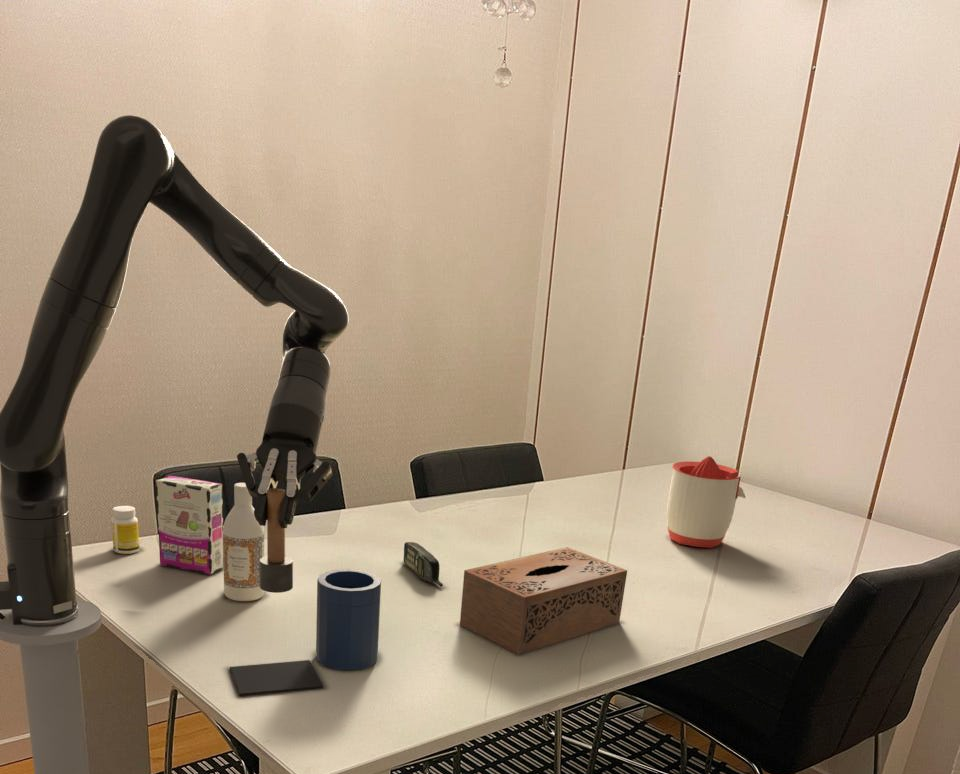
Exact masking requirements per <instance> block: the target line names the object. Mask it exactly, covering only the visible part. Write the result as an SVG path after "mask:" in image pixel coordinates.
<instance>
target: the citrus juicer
mask: <svg viewBox="0 0 960 774" xmlns="http://www.w3.org/2000/svg"><path fill="white" fill-rule="evenodd" d="M740 483H741V476H739V470H737V469H735V468H732V467H729V466H726V465H722V464H719V463H718V464H717V462H716V461H715V459H714V458H713V457H712V456H706V457H705V458H703V459H702V460H701V461H677V462H675V463H673V464H672V474H671V480H670V486H669V492H668V497H667V498H668V499H667V506H666V522H667V523H666V524H667V532H668V534H669V538H670V539H671V540H672V541H674V542H676V544H678V545H686V546H690V547H695V548H696V547H697V548H706V549H713V548H714V547H717V546H719V545H720V544H721V542H723V540H724V538H725V536H726V534H727V532H728V530H729V528H730V525H731V523H732V520H733V516H734V512H735V508H736V502H737V499H738V498H742V499H746V498H747V497H746V494H745V492H744V489H743V488H742V487H741V486H740Z"/></svg>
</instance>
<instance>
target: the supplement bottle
mask: <svg viewBox="0 0 960 774" xmlns="http://www.w3.org/2000/svg"><path fill="white" fill-rule="evenodd" d="M112 516H113V517H112V518H111V533H112V534H111V535H112V545H113V551H114V552H115V553H117V554H121V555H130V554H134V553H137V552H139V551H140V536H139V535H140V534H139V533H140V532H139V521H138V520H139V519H138V518H137V517H136V508H135V507H134V506H131V505H117V506H114V507H112Z"/></svg>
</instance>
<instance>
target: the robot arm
mask: <svg viewBox="0 0 960 774" xmlns="http://www.w3.org/2000/svg"><path fill="white" fill-rule="evenodd" d="M171 145H172V144H171V143H170V142H169V140H168V138H167V137H166V136H165V134H164V133H163V132H162V131H161V130H160V129H159V128H158V127H157V126H156V125H155V124H154V123H152V122H151V121H149V120H148V119H146V118H144V117H141V116H138V115H132V114H129V115H128V114H127V115H121V116H118V117H116V118H114V119H112V120H111V121H110V122H109V123H107V124H106V125H105V127H104V128H103V130H102V131H101V133H100V135H99V137H98V140H97V144H96V148H95V152H94V156H93V161H92V164H91V169H90V172H89V176H88V180H87V183H86V188H85V191H84V195H83V199H82V202H81V205H80V207H79V210H78V212H77V214H76V217H75V219H74V221H73V223H72V225H71V226H70V228H69V231H68V233H67V235H66V238H65V239H64V241H63V244H62V245H61V248H60V251H59V253H58V255H57V258H56V260H55V262H54V264H53V267H52V269H51V271H50V274H49V277H48V279H47V281H46V284H45V286H44V290H43V292H42V294H41V298H40V301H39V303H38V306H37V307H38V308H37V310H36V313H35V317H34V321H33V322H32V323H33V324H32V327H31V331H30V333H29V338H28V342H27V346H26V350H25V355H24V359H23V362H22V366H21V369H20V371H19V374H18V377H17V379H16V381H15V383H14V385H13V387H12V389H11V391H10V393H9V395H8V397H7V399H6V401H5V402H4V405H3V407H2V409H1V410H0V508H1V509H0V510H1V516H2V525H3V533H4V534H3V535H4V543H5V551H6V560H7V563H6V564H7V565H6V571H7V573H6V574H7V581H0V610H7V609H12V616H13V624H14V625H26V626H33V627H48V626H56V625H61V624H64V623H67V622H70V621H72V620H74V619H75V618H76V617H77V616H78V606H77V600H76V599H77V591H76V589H77V588H76V579H75V569H74V567H75V566H74V555H73V547H72V534H71V522H70V511H69V479H68V464H67V451H66V438H65V430H64V426H65V424H66V419H67V416H68V413H69V409H70V406H71V403H72V400H73V397H74V395H75V393H76V391H77V388H78V386H79V384H80V383H81V381H82V379H83V378H84V376H85V374H86V372H87V371H88V369H89V367H90V366H91V364H92V363H93V360H94V359H95V357H96V355H97V353H98V351H99V348H100V347H101V345H102V343H103V341H104V339H105V337H106V335H107V332H108V330H109V328H110V326H111V324H112V321H113V319H114V316H115V313H116V311H117V308H118V305H119V302H120V299H121V296H122V293H123V290H124V285H125V280H126V276H127V272H128V265H129V261H130V253H131V248H132V244H133V240H134V238H135V235H136V232H137V229H138V227H139V225H140V222H141V220H142V218H143V217H144V214H145V212H146V210H147V208H148V206H149V204H151V205H153V206H155V207H156V208H157V209H159V210H160V211H162V212H163V213H165V215H167V216H168V217H169V218H171V219H172V220H173V221H175V222H176V223H177V225H179V226H180V227H182V229H184V230H185V231H186V232H187V233H188V234H189V235H190V236H191V238H193V239H194V240H195V242H196V243H197V244H198V245H199V246H200V247H201V248H202V249H203V250H204V251H205V252H206V254H207V255H209V257H210V258H211V259H212V260H213V261H214V262H215V264H217V265H218V267H220V268H221V269H222V270H223V271H224V272H225V273H226V274H227V275H228V276H229V277H230V278H231V279H232V280H233V281H234V282H235V283H236V284H237V285H239V286H240V287H241V288H242V289H243V290H244V291H245V292H246V293H247V294H248V295H250V296H251V297H252V298H253V299H254V300H255V301H256V302H257V303H258V304H260V305H261V306H263V307H265V308H271V307H273V306H276V305H278V304H283V305H284V306H287V307H289V308H290V309H293V311H292V312H291V314H290V315H289V316H288V318H287V319H286V322H285V324H284V328H283V332H282V339H281V340H282V341H281V342H282V343H281V345H282V346H281V347H282V348H281V349H282V350H281V351H282V352H281V353H282V363H281V366H280V369H279V370H280V371H279V374H278V378H277V384H276V387H275V389H274V391H273V394H272V397H271V401H270V405H269V409H268V414H267V418H266V423H265V427H264V431H263V435H262V439H261V440H262V441H261V443H260V445H259V446H258V447H257V448H256V450H255V452H253V453H250V454H245V453H244V452H238V454H237V455H236V459H237V462H238V465H239V468H240V472H241V475H242V478H243V481H244V483H245V484H246V487H247V489H248V492H249V494H250V496H251V497H252V498H256V501H255V506H254V509H255V510H254V516H255V518H256V521H258V523H259V525H260V526H263V527H265V526H267V490H268V489H272V488H277V486H278V483H279V482H286V490H285V497H284V499H283V503H282V508H281V512H280V517H279V524H280V526H281V528H285V529H287V528H288V525H292V523H293V522H294V517H295V512H296V509H297V508H296V507H297V505H298V504H300V503H305V504H309V503H311V502H312V501H313V500H314V498H315V497H316V496H317V495H318V494H319V492H320V491H321V489H323V488H324V486H325V485H326V484H327V483H328V482H329V480H330V479H332V477H333V470H332V467H331V465H330V462H329V461H326V460H325V461H321V460H320V459H318V455H317V450H318V445H319V439H320V435H321V430H322V426H323V423H324V419H325V409H326V397H327V392H328V388H329V383H330V378H331V362H330V360H329V358H328V357H327V356H326V352H327V349H328V348H329V347H330V346H331V345H332V344H333V343H334V342H335V341H336V340H337V339H338V338H339V337H340V336H341V335H343V333H344V332H345V331H346V329H347V328H348V325H349V321H350V319H349V318H350V317H349V313H348V310H347V307H346V306H345V304H344V302H343V300H342V299H341V298H340V296H338V294H336V292H334V291H333V290H332V289H331V288H329V287H327V285H324V284H323V283H321V282H319V281H318V280H316V279H314V278H313V277H311V276H309V275H307V274H305V273H304V272H303V271H300V270H298V269H297V268H294V267H293V266H291V265H290V264H288V262H287V261H286V260H285V259H284V258H282V256H281V255H279V254H278V252H276V250H275V249H273V248H272V247H271V246H270V245H269V244H268V243H267V242H266V241H265V240H264V239H263V238H262V237H260V236H259V235H258V234H257V233H256V232H255V231H254V230H252V228H250V227H249V226H248V225H247V224H246V223H244V221H242V220H241V219H239V218H238V217H237V216H236V215H235V214H234V213H232V212H231V211H230V210H229V209H228V208H226V206H224V205H223V204H222V203H221V202H220V201H219V200H217V199H216V197H214V195H212V194H211V193H210V192H209V190H207V188H206V187H204V185H202V183H200V181H199V180H198V179H197V178H196V177H195V175H193V173H192V172H191V171H190V169H188V167H187V166H186V164H185V163H184V162H183V161H182V159H181V158H180V157H179V155H178V154H177V153H176V151H174V149H173V148H172V146H171ZM257 463H259V464H260V466H261V468H262V470H263V471H262V472H261V473H262V475H261V480H260V483H259V484H256V480H255V477H254V475H253V472H254V471H255V469H256V467H257ZM311 471H312V472H313V473H312V474H311V475H310V477H309V478H308V479H307V481H305V482H304V484H302V486H301V480H302V479H303V478H304V477H306V475H307V474H308V473H309V472H311ZM4 618H5V616H4V615H3V614H2V613H0V619H1V620H3V619H4Z"/></svg>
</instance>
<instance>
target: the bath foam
mask: <svg viewBox="0 0 960 774" xmlns="http://www.w3.org/2000/svg"><path fill="white" fill-rule="evenodd" d="M233 493H234V494H233V495H234V496H233V499H234V504H233V506H232V508H231V509H230V511H229V512H228V514H227V516H226V517H225V520H224V521H223V569H222V570H223V593H224V596H225V597H227V598H228V599H230V600H232V601H237V602H252V601H256V600H259V599H261V598H262V597H263V596H264V594H265V591H264V590H262V589H261V588H260V575H259V560H260V559H261V558H262V557H265V526H260V525H259V523H258V521H256V518H255V516H254V510H255V507H254V506H253V497H251V496H250V494H249V492H248V489H247V487H246V484H245V482H236V483H234V485H233Z"/></svg>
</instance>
